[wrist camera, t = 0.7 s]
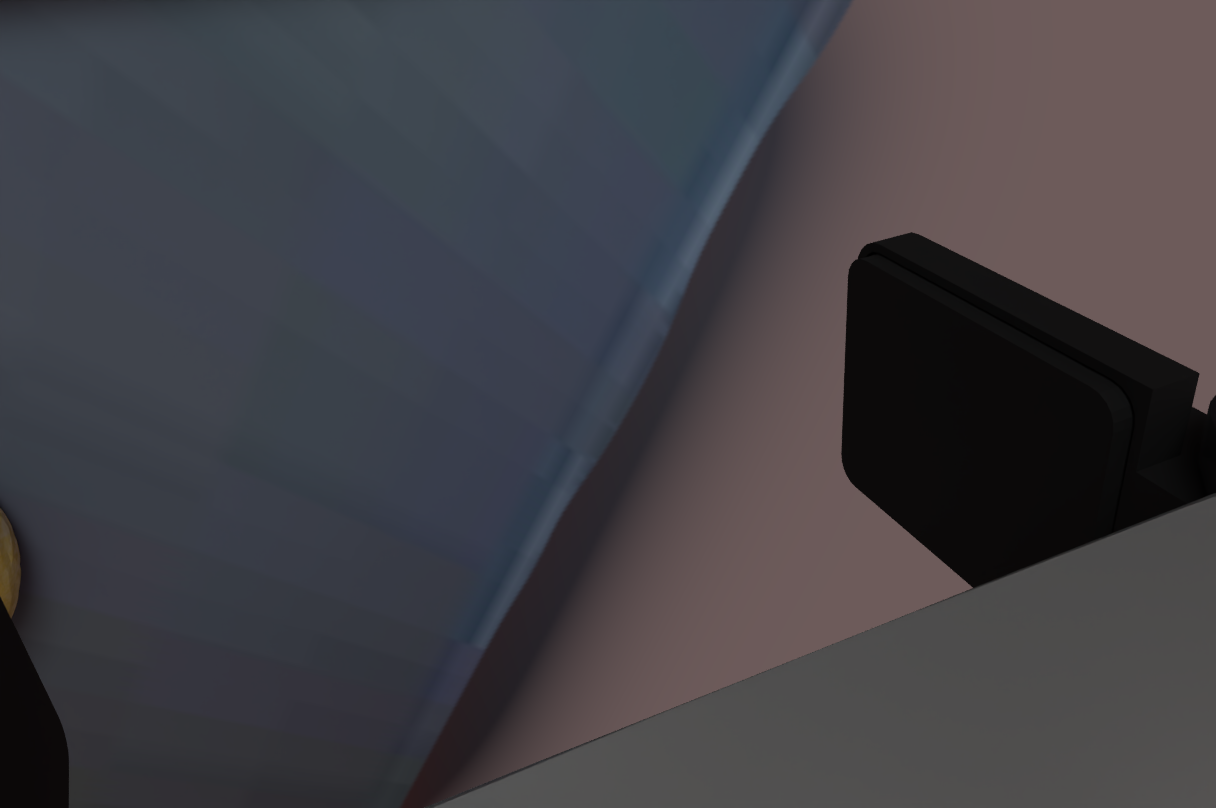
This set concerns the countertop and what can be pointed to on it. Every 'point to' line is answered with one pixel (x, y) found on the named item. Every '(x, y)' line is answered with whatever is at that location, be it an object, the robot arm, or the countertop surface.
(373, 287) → the countertop surface
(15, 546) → the bread roll
